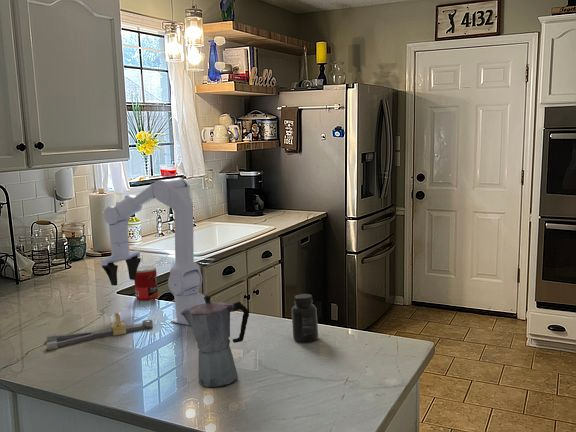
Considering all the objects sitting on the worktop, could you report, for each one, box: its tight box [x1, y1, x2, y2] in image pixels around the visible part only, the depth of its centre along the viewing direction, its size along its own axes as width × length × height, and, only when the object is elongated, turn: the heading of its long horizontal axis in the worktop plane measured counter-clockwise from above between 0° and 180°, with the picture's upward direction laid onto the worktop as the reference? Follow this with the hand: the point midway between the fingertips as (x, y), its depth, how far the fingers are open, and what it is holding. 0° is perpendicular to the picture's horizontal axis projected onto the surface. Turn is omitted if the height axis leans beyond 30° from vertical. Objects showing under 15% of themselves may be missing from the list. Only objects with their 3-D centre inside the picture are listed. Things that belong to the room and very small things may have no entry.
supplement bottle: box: [291, 293, 319, 344], centre depth 154 cm, size 7×7×12 cm
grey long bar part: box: [46, 318, 154, 351], centre depth 167 cm, size 30×9×2 cm, turn 113°
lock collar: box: [110, 312, 127, 337], centre depth 168 cm, size 4×5×5 cm, turn 23°
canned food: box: [133, 265, 159, 302], centre depth 205 cm, size 8×8×11 cm
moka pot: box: [181, 295, 250, 388], centre depth 130 cm, size 10×15×20 cm, turn 95°
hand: (123, 282), depth 189 cm, fingers open, 7 cm apart
